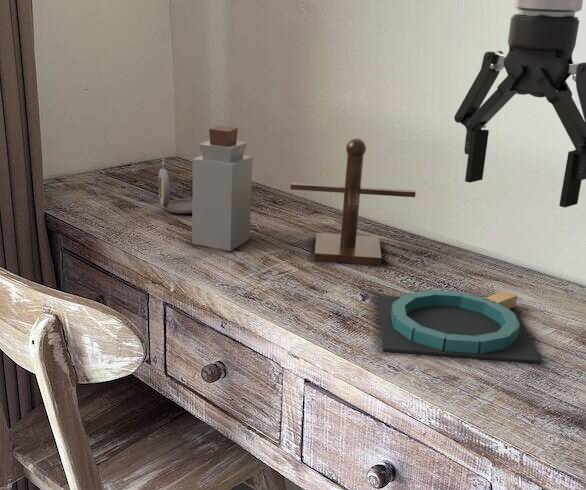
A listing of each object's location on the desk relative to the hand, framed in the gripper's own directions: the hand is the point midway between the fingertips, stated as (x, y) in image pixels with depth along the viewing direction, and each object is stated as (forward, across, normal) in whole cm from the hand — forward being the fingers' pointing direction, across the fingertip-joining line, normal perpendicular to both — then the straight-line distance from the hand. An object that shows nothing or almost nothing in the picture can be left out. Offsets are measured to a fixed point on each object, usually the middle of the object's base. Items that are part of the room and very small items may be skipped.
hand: (518, 192), depth 101 cm
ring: (+16, 0, -9) cm, 18 cm away
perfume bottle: (+16, -43, -14) cm, 48 cm away
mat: (+16, 0, -10) cm, 19 cm away
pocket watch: (+16, -60, -10) cm, 63 cm away
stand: (+16, -28, 0) cm, 32 cm away
